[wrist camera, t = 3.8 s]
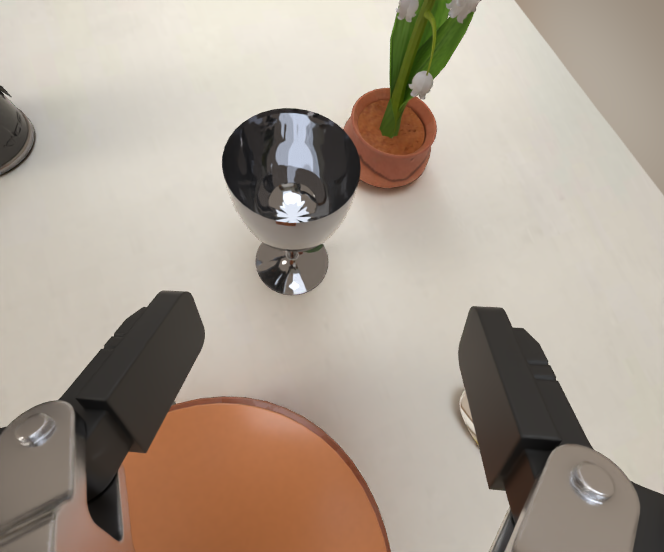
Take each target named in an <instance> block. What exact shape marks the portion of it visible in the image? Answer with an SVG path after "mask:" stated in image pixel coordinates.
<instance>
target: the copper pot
mask: <svg viewBox="0 0 664 552" xmlns="http://www.w3.org/2000/svg"><path fill="white" fill-rule="evenodd" d="M122 464H123V466H124V469H125V477H126V486H127V496H128V505H129V515H130V524H131V534H132V541H133V546H134V549H135V552H391V550H390V545H389V541H388V537H387V532H386V529H385V526H384V523H383V520H382V517H381V514H380V512H379V509H378V506H377V504H376V502H375V500H374V497H373V495H372V493H371V491H370V489H369V487H368V485H367V483H366V481H365V480H364V478H363V477H362V475H361V474H360V472H359V470H358V469H357V467H356V466H355V464H354V463H353V461H352V460H351V459H350V458H349V457H348V455H347V454H346V453H345V452H344V451H343V449H342V448H341V447H340V446H339V445H338V444H337V443H336V442H335V441H334V440H333V439H332V438H331V437H330V436H329V435H327V434H326V433H325V432H324V431H323V430H322V429H321V428H319V427H318V426H316V425H315V424H314V423H312V422H311V421H309V420H308V419H306V418H305V417H303V416H301V415H299V414H297V413H295V412H293V411H291V410H289V409H287V408H285V407H282V406H279V405H276V404H273V403H270V402H267V401H263V400H257V399H252V398H246V397H225V396H222V397H211V398H200V399H196V400H191V401H187V402H182V403H178V404H176V403H175V401H174V402H173V404H172V406H171V407H170V409H169V411H168V413H167V415H166V417H165V419H164V421H163V423H162V424H161V426H160V428H159V430H158V432H157V434H156V436H155V438H154V440H153V441H152V443H151V445H150V447H149V449H148V451H147V453H137V452H128V453H127V455H126V457H125V459H124V460H123V462H122Z"/></svg>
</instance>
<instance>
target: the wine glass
mask: <svg viewBox="0 0 664 552" xmlns="http://www.w3.org/2000/svg"><path fill="white" fill-rule="evenodd" d="M222 168H223V174H224V179H225V183H226V186H227V190H228V193H229V195H230V198H231V200H232V203H233V205H234V207H235V210H236V212H237V213H238V215H239V217H240V218H241V220H242V221H243V223H244V224H245V226H246V227H247V228H248V230H249V231H250V232H251V233H252V234H253V235H254V236H255V237H256V238H257V239H258V240H260V241H261V242H262V243H261V245H260V247H259V249H258V251H257V255H256V268H257V272H258V274H259V276H260V278H261V279H262V281H263V282H264V283H265V284H266V285H267V286H268V287H269V288H271V289H272V290H274V291H276V292H278V293H282V294H286V295H298V294H303V293H306V292H308V291H310V290H312V289H313V288H315V287H316V286H317V285H318V284H319V283H320V282H321V281H322V280H323V278H324V276H325V274H326V271H327V268H328V256H327V252H326V250H325V248H324V246H323V244H322V243H324V242H325V241H326V240H327V239H329V238H330V237H331V236H332V235H333V234H334V233H335V231H336V230H337V229H338V228H339V226H340V225H341V223H342V222H343V220H344V219H345V217H346V215H347V213H348V211H349V210H350V207H351V205H352V202H353V200H354V197H355V193H356V190H357V187H358V183H359V179H360V170H361V165H360V158H359V154H358V152H357V149H356V147H355V145H354V143H353V141H352V140H351V138H350V137H349V136H348V135H347V133H346V132H345V131H344V130H343V129H342V128H341V127H339V126H338V125H337V124H336V123H334V122H333V121H331V120H330V119H328V118H326V117H324V116H322V115H319V114H317V113H314V112H310V111H307V110H301V109H291V108H283V109H274V110H270V111H266V112H262V113H260V114H258V115H255V116H253V117H251V118H249V119H248V120H246V121H245V122H243V123H242V124H241V125H240V126H239V127H238V128H237V129H235V131H234V132H233V133H232V135H231V136H230V137H229V139H228V141H227V143H226V145H225V148H224V152H223V156H222Z"/></svg>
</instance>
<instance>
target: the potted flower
mask: <svg viewBox="0 0 664 552" xmlns="http://www.w3.org/2000/svg"><path fill="white" fill-rule="evenodd" d="M480 1H481V0H400V1H399V7H398V9H397V8H396V11H397V15H396V19H395V23H394V27H393V30H392V34H391V38H390V88H381V89H376V90H373V91H370V92H368V93H366V94H364V95H363V96H361V97H360V98H359V99H358V100H357V101H356V103H355V105H354V106H353V109H352V114H351V117H350V118H349V119H348V121H347V122H346V124H345V126H344V129H343V130H344V131H345V132H346V133H347V135H348V136H349V137H350V138H351V140H352V141H353V143H354V145H355V147H356V149H357V152H358V154H359V158H360V165H361V170H360V180H362V181H364V182H365V183H368V184H370V185H373V186H376V187H382V188H392V187H400V186H403V185H407V184H409V183H411V182H413V181H414V180H416V179H417V178H418V177H419V176H420V175H421V174H422V173H423V171H424V170H425V167H426V165H427V162H428V159H429V157H430V152H431V145H432V143H433V142H434V140H435V137H436V132H437V126H436V121H435V118H434V116H433V114H432V112H431V110H430V109H429V108H428V106H427V105H426V104H425V103H424V102H423V101H422V100H420V99H425V95H426V93H429V91H430V89H431V87H432V85H433V79H434V78H435V77H436V76H437V75H438V74H439V73H440V71H441V70H442V69H443V68H444V67H445V66H446V64H447V62H448V61H449V59H450V57H451V56H452V54H453V52H454V51H455V49H456V48H457V46H458V44H459V43H460V41H461V39H462V38H463V36H464V34H465V33H466V30H467V28H468V26H469V24H470V22H471V20H472V17H473V14H474V12H475V11H476V6H477V4H478V3H479V2H480ZM448 15H449V16H450V17H449V18H448ZM447 18H448V19H447ZM417 95H419V97H420V99H419V98H418V97H416V96H417Z"/></svg>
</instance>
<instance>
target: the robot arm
mask: <svg viewBox="0 0 664 552" xmlns="http://www.w3.org/2000/svg"><path fill="white" fill-rule="evenodd" d="M1 91H2V92H4V93H5V94H7V95H9V96H10V94H9V93H8V92H7V91H6V90H5V89H4V88H3V87H2V86H0V175H1V174H3V173H5V172H7V171H9V170H10V169H12V168H14V167H15V166H16V165H18V164H19V163H20V162H21V161H22V160H23V159H24V158H25V157H26V156H27V154H28V153H29V151H30V150H31V148H32V145H33V142H34V128H33V125H32V123H31V122H30V120H29V119H28V118H27V117H26V115H25V114H24V113H23V112H22V111H21V110H19V109H18V108H17V107H15V105H14V104H13V103H12V102H11V101H10V100H9V99H8V98H7V97H6V96H5V95H4V94H3V93H2V92H1ZM10 97H11V96H10ZM204 339H205V330H204V326H203V323H202V321H201V318H200V315H199V313H198V310H197V307H196V304H195V302H194V299H193V296H192V295H191V293H189V292H182V291H161V292H159V293H158V294H157V295H156V297H155V298H154V299H153V300H152V302H151V303H150V304H149V305H148V307H143V308H141V309H140V310H138V311H137V312H136V313H134V314H133V315H131V316H130V317H129V318H127V319H126V320H125V321H124V322H123V324H122V325H121V326H120V327H119V328H118V330H117V331H116V332H115V333H114V337H111V338H110V339H109V340H108V342H107V343H106V344H105V345H104V349H101V350H100V351H99V352H98V354H97V355H96V356H95V357H94V358H93V360H92V361H91V362H90V363H89V364H88V366H87V367H86V368H85V369H84V370H83V372H82V373H81V374H80V375H79V376H78V378H77V379H76V380H75V381H74V382H73V384H72V385H71V386H70V387H69V388H68V390H67V391H66V392H65V393H64V394H63V395H62V397H61V398H60V399H59V400H56V401H49V402H45V403H42V404H39V405H37V406H35V407H33V408H31V409H29V410H27V411H26V412H24V413H23V414H21V415H20V416H18V417H17V418H16V419H15V420H13V421H12V422H11V423H10V424H9V425H8V426H7V427H3V428H0V552H135V549H134V546H133V541H132V534H131V524H130V515H129V505H128V496H127V486H126V477H125V469H124V466H123V464H122V462H123V460H124V459H125V457H126V455H127V453H128V452H137V453H147V451H148V449H149V447H150V445H151V443H152V441H153V440H154V438H155V436H156V434H157V432H158V430H159V428H160V426H161V424H162V423H163V421H164V419H165V417H166V415H167V413H168V411H169V409H170V407H171V406H172V404H173V402H174V400H175V398H176V396H177V394H178V392H179V390H180V389H181V387H182V385H183V383H184V381H185V379H186V377H187V375H188V373H189V372H190V370H191V368H192V366H193V364H194V362H195V360H196V358H197V356H198V355H199V353H200V351H201V349H202V347H203V344H204ZM458 358H459V366H460V370H461V375H462V379H463V383H464V387H465V391H466V395H467V399H468V404H469V408H470V412H471V416H472V420H473V424H474V428H475V433H476V437H477V441H478V445H479V449H480V453H481V457H482V462H483V466H484V470H485V474H486V478H487V482H488V486H489V489H493V490H503V491H506V494H507V498H508V501H509V505H510V507H509V509H508V510H507V513H506V515H505V517H504V519H503V521H502V524H501V526H500V528H499V530H498V532H497V535H496V537H495V539H494V541H493V543H492V546H491V548H490V550H489V552H664V495H663V494H660V493H658V492H655V491H652V490H650V489H647V488H645V487H642V486H640V485H638V484H635V483H633V482H632V481H630V480H629V479H628V477H627V476H626V475H625V474H624V472H623V471H622V470H621V469H620V468H619V467H618V466H617V465H616V464H615V463H613V462H612V461H611V460H610V459H608V458H607V457H605V456H604V455H602V454H601V453H599V452H597V451H595V450H594V449H593V448H592V446H591V445H590V443H589V441H588V439H587V437H586V435H585V433H584V431H583V429H582V427H581V426H580V424H579V422H578V420H577V418H576V416H575V414H574V412H573V410H572V408H571V406H570V404H569V402H568V400H567V398H566V396H565V394H564V392H563V390H562V388H561V386H560V384H559V382H558V381H556V376H555V374H554V372H553V370H552V368H551V366H550V365H548V360H547V358H546V356H545V354H544V352H543V350H542V348H541V346H540V344H539V343H538V342H537V341H536V340H535V339H534V338H533V337H532V336H531V335H530V334H529V333H528V332H527V331H526V330H525V329H524V328H512V326H511V323H510V321H509V319H508V317H507V314H506V312H505V310H504V309H503V308H497V307H477V306H473V307H471V308H470V310H469V313H468V317H467V320H466V323H465V327H464V330H463V333H462V337H461V340H460V344H459V351H458Z"/></svg>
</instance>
